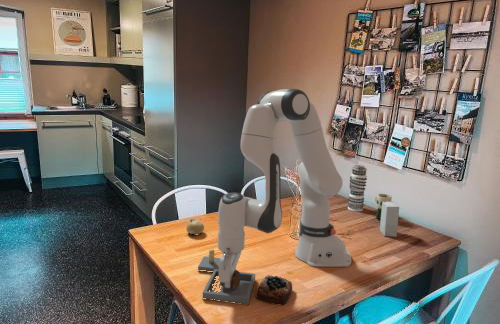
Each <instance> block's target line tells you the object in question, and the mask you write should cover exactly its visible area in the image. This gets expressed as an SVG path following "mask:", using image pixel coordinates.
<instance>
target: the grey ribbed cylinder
mask: <svg viewBox="0 0 500 324" xmlns="http://www.w3.org/2000/svg"><path fill="white" fill-rule="evenodd" d="M367 170H368V169H367V168H366V167H365V166H364V165H361V164H356V165H354V166H353V167H351V176H349V195H348V199H347V200H348V202H347V209H348V210H350V211H352V212H362V211H363V210H364V205H365V204H364V202H365V190H366V186H367V184H366V183H367V180H368V178H367V177H368V176H367Z"/></svg>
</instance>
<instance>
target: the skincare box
mask: <svg viewBox="0 0 500 324" xmlns="http://www.w3.org/2000/svg"><path fill="white" fill-rule="evenodd" d="M399 214H400V206H399V205H398V204H397V203H395V202H394V201H392V202H382V211H381V220H380V225H379V231H380V232H381V233H382V234H383V236H384V237H391V238H397V236H398V235H397V234H398V225H399V216H400V215H399Z"/></svg>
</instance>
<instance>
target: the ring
mask: <svg viewBox="0 0 500 324" xmlns="http://www.w3.org/2000/svg"><path fill="white" fill-rule="evenodd" d="M240 272H241V271H239V270H237V269H236V270H234V273H233V276H232V278H231V286H230V288H228V289H231V288H236V287H238V286H239V284H240ZM220 285H221V286H222V287H225V283H224V282H220ZM225 288H226V287H225Z"/></svg>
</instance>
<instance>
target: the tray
mask: <svg viewBox="0 0 500 324" xmlns="http://www.w3.org/2000/svg"><path fill="white" fill-rule="evenodd" d="M239 272H240V284H239V286H238V287H236V288H231V289H228V288H225V287H221V289H220V290H221V291H220V292H218V291H216V292H214V291H215V289H216V288H214V290H212V288H213V286H214V285H213V286H212V284H214V283H215V281H216V280H214V279H216V278H215V277H216V276H219V270H217V269H214V271H213V273H211V275H210V276H209V279H208V281H207V283H206V285H205V287H204V288H203V291H202V299H203V298H206V299H213V300H214V299H215V300H220V301H228V302H235V303H241V304H240V305H242V304H249V305H250V302H251V298H250V297H252V294H253V289H254V287H253V286H255V283H254V282H256V273H254V272H253V273H252V272H244V271H243V272H242V271H239ZM218 280H219V279H218ZM218 282H219V281H217V282H216V283H218ZM215 286H216V287H217V284H216V285H215ZM220 286H221V285H220V284H219V288H220ZM209 290H210V292H209ZM217 292H218V293H217ZM249 301H250V302H249Z"/></svg>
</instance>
